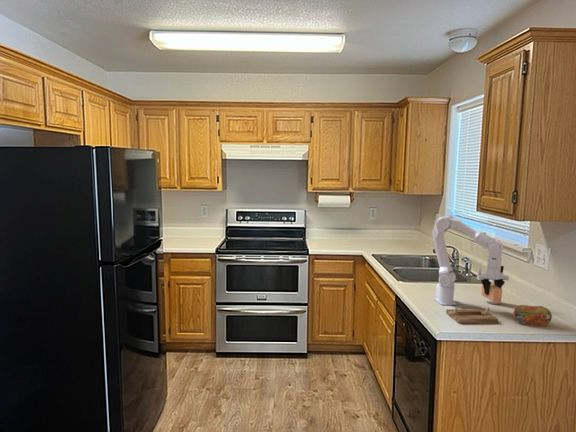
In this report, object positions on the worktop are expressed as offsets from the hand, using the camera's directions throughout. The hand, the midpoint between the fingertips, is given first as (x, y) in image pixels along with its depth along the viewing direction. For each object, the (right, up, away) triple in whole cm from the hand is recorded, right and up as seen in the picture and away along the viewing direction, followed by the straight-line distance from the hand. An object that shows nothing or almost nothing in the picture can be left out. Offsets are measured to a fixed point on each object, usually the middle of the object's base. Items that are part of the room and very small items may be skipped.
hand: (491, 294), depth 194 cm
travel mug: (+8, -7, +14) cm, 18 cm away
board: (-13, -9, -8) cm, 18 cm away
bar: (0, -2, 0) cm, 2 cm away
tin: (+11, -11, -13) cm, 20 cm away
